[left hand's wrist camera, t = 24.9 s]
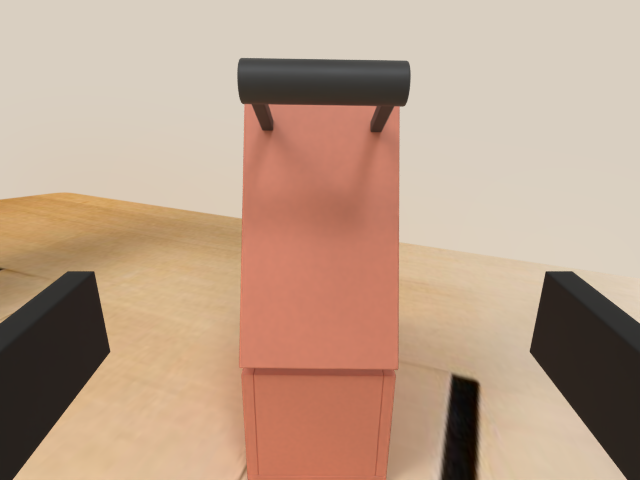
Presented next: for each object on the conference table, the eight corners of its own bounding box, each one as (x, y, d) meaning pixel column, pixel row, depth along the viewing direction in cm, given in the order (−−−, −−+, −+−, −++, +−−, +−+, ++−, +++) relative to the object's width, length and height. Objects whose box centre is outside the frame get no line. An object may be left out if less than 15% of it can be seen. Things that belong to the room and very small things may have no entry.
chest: (272, 341, 46) (269, 262, 42) (362, 343, 46) (367, 263, 42) (247, 483, 30) (241, 374, 27) (385, 484, 30) (395, 376, 27)
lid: (247, 90, 28) (216, 13, 19) (396, 92, 28) (432, 16, 19) (242, 363, 27) (207, 413, 18) (395, 365, 27) (432, 415, 18)
